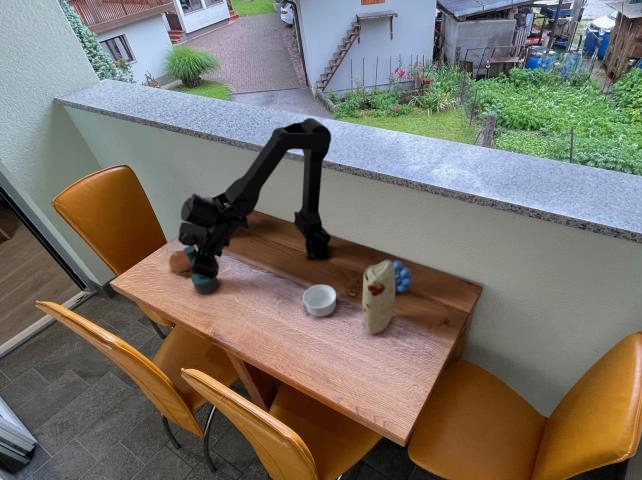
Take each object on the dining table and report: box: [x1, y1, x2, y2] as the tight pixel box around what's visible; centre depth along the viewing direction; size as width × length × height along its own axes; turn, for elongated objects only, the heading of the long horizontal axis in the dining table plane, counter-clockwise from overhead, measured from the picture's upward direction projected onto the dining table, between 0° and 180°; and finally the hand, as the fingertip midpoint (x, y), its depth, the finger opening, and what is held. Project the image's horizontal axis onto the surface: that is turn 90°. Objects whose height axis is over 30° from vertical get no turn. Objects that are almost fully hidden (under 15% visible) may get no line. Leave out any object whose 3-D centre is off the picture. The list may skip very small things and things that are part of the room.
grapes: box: [382, 258, 414, 294], centre depth 95 cm, size 12×7×12 cm, turn 59°
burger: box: [168, 249, 198, 278], centre depth 106 cm, size 10×9×5 cm
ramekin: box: [302, 284, 337, 318], centre depth 94 cm, size 9×9×4 cm
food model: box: [361, 260, 396, 336], centre depth 83 cm, size 10×7×20 cm
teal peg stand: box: [183, 245, 221, 296], centre depth 96 cm, size 6×6×14 cm
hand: (194, 269), depth 96 cm, fingers closed on teal peg stand, 3 cm apart
